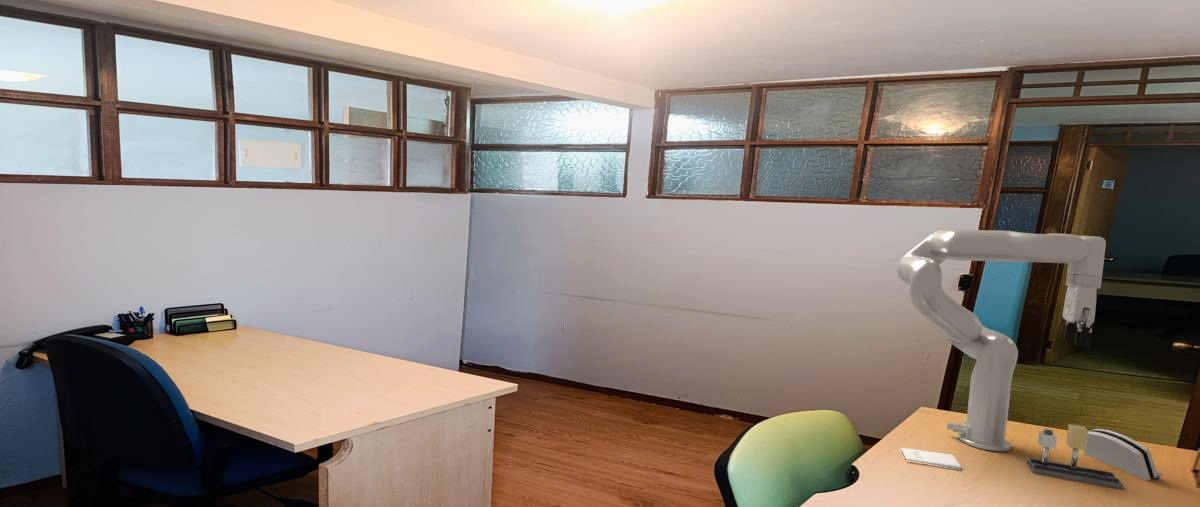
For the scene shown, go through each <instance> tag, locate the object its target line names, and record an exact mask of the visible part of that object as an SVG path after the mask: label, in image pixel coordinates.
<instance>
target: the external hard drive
mask: <svg viewBox="0 0 1200 507" xmlns="http://www.w3.org/2000/svg"><path fill="white" fill-rule="evenodd" d="M901 450H902V452H903V454H904V455H903V457H904V456H905V458H906V460H910V461H916V462H921V463H927V464H932V465H938V466H942V467H947V468H946V469H948V468H953V469H952V470H954V469H958V470H957V471H961V470H962V468H961V465H960V462H958V460H957V458H956V457H955V456H954V454H950V453H949V454H947V453H942V452H934V451H927V450H921V449H915V448H906V447H900V451H901Z"/></svg>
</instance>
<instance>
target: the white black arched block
mask: <svg viewBox="0 0 1200 507" xmlns="http://www.w3.org/2000/svg"><path fill="white" fill-rule="evenodd" d="M1083 455H1085V456H1088V457H1090V458H1092V459H1095V460H1097V461H1100V462H1101V461H1102V462H1101V463H1104V464H1106V463H1107V464H1106V465H1108V464H1109V465H1108V466H1111V467H1113V466H1114V468H1115V469H1118V468H1119V469H1118V470H1120V469H1121V471H1123V472H1125V471H1126V473H1127V472H1128V474H1131V475H1132V474H1133V475H1132V476H1134V475H1135V476H1134V477H1137V476H1138V477H1137V478H1139V477H1140V478H1139V479H1141V480H1144V479H1145V480H1144V481H1151V479H1152V478H1155V479H1157V478H1159V479H1158V480H1160V479H1161V480H1162V475H1161V472H1159V471H1157V469H1156V468H1157V467H1156V464H1155V462H1154V458H1153V456H1152V453H1151V451H1150V449H1149V448H1147V447H1146V446H1144V445H1142V444H1141V443H1140V442H1138V441H1136V440H1134V439H1132V438H1131V437H1129V436H1127V435H1124V434H1121V433H1118V432H1116V431H1112V430H1108V429H1101V428H1094V429H1090V430H1088V437H1087V445H1086V450H1083ZM1151 477H1152V478H1151Z"/></svg>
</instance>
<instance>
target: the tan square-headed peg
mask: <svg viewBox="0 0 1200 507" xmlns="http://www.w3.org/2000/svg"><path fill="white" fill-rule="evenodd" d="M1067 427H1068V428H1067V434H1066V435H1067V436H1066V441H1065V443H1066V445H1067V446H1068V447H1069V448H1071V449H1072V451H1071V452H1072V453H1071V460H1070V465H1071V468H1072V469H1076V468H1077V466H1078V459H1079V451H1080V450H1082V451H1084V450H1086V445H1087V437H1088V431H1089V430H1088V428H1086V427H1085V426H1084V425H1079V424H1078V425H1076V424H1072V423H1071V424H1070V423H1068V426H1067Z"/></svg>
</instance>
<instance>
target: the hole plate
mask: <svg viewBox="0 0 1200 507" xmlns="http://www.w3.org/2000/svg"><path fill="white" fill-rule="evenodd" d="M1038 431H1039V432H1038V438H1037V439H1038V442H1037V443H1038V444H1039V446H1040V447H1041V448H1043V450H1042V458H1041V459H1037V458H1033V457H1032V458H1028V457H1027V458H1026V464H1027V466H1028V467H1029V468H1030V470H1031V472H1032V473H1033V474H1037V475H1042V476H1048V477H1053V478H1060V479H1064V480H1069V481H1076V482H1081V483H1086V484H1092V485H1098V486H1103V487H1107V488H1114V489H1120V490H1124V483H1123V482H1122V481H1120V479H1119V478H1118V477H1117V476H1116V475H1115V474H1114V473H1113V471H1105V470H1100V469H1095V468H1089V467H1083V466H1078V465H1077V468H1076V469H1072V468H1071V464H1065V463H1061V462H1054V461H1049V455H1050V449H1052V450H1055V449H1057V448H1056V446H1057V439H1058V436H1057V435H1056V434H1055V433H1054V430H1051V429H1049V428H1044V429H1043V430H1038Z"/></svg>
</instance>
